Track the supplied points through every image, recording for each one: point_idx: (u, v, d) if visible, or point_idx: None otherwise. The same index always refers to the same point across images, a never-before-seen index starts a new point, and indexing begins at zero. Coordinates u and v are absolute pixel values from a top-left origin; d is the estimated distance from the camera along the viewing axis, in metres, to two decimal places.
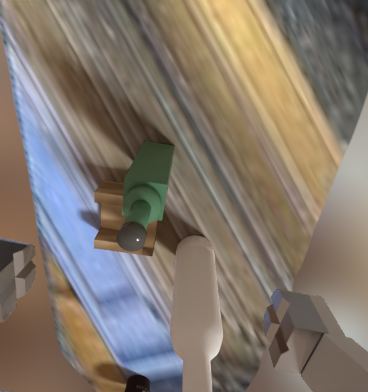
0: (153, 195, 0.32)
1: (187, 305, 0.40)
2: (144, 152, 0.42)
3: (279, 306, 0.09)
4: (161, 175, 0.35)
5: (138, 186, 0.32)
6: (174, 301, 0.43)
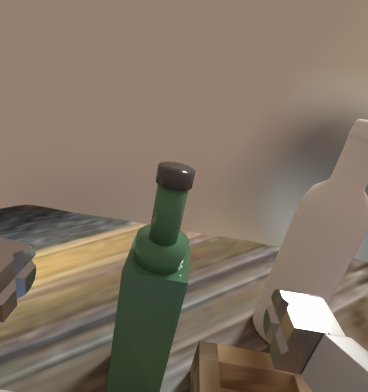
0: None
1: (305, 230, 0.31)
2: None
3: (279, 306, 0.09)
4: None
5: (134, 252, 0.23)
6: (322, 259, 0.30)
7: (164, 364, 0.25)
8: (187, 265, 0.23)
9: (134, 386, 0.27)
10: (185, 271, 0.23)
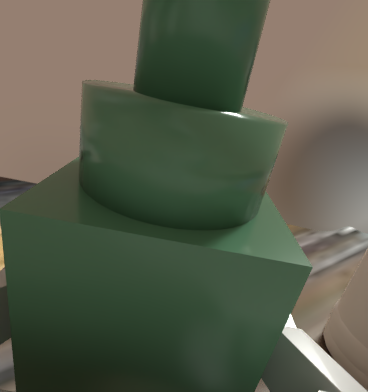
0: None
1: None
2: None
3: None
4: None
5: (79, 154, 0.06)
6: None
7: None
8: (272, 208, 0.07)
9: None
10: (276, 224, 0.06)
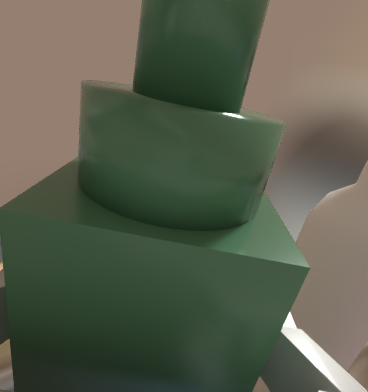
0: None
1: (317, 265, 0.20)
2: None
3: None
4: None
5: (78, 154, 0.06)
6: (343, 312, 0.19)
7: None
8: (271, 209, 0.07)
9: None
10: (275, 225, 0.06)
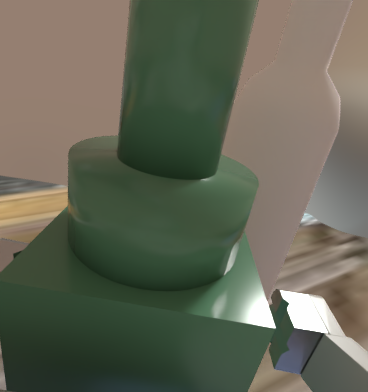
0: None
1: (235, 142, 0.19)
2: None
3: (279, 306, 0.09)
4: None
5: None
6: (260, 185, 0.19)
7: None
8: (249, 256, 0.07)
9: None
10: (249, 277, 0.06)
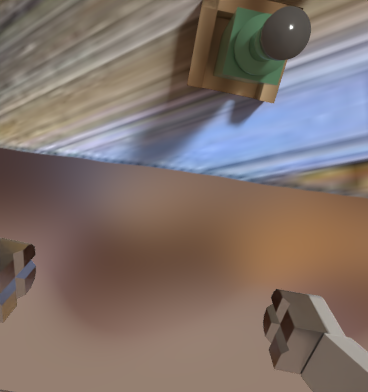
0: (245, 23, 0.22)
1: None
2: None
3: (279, 306, 0.09)
4: (231, 25, 0.25)
5: (233, 51, 0.24)
6: None
7: (254, 83, 0.34)
8: None
9: (232, 79, 0.38)
10: (279, 69, 0.25)
